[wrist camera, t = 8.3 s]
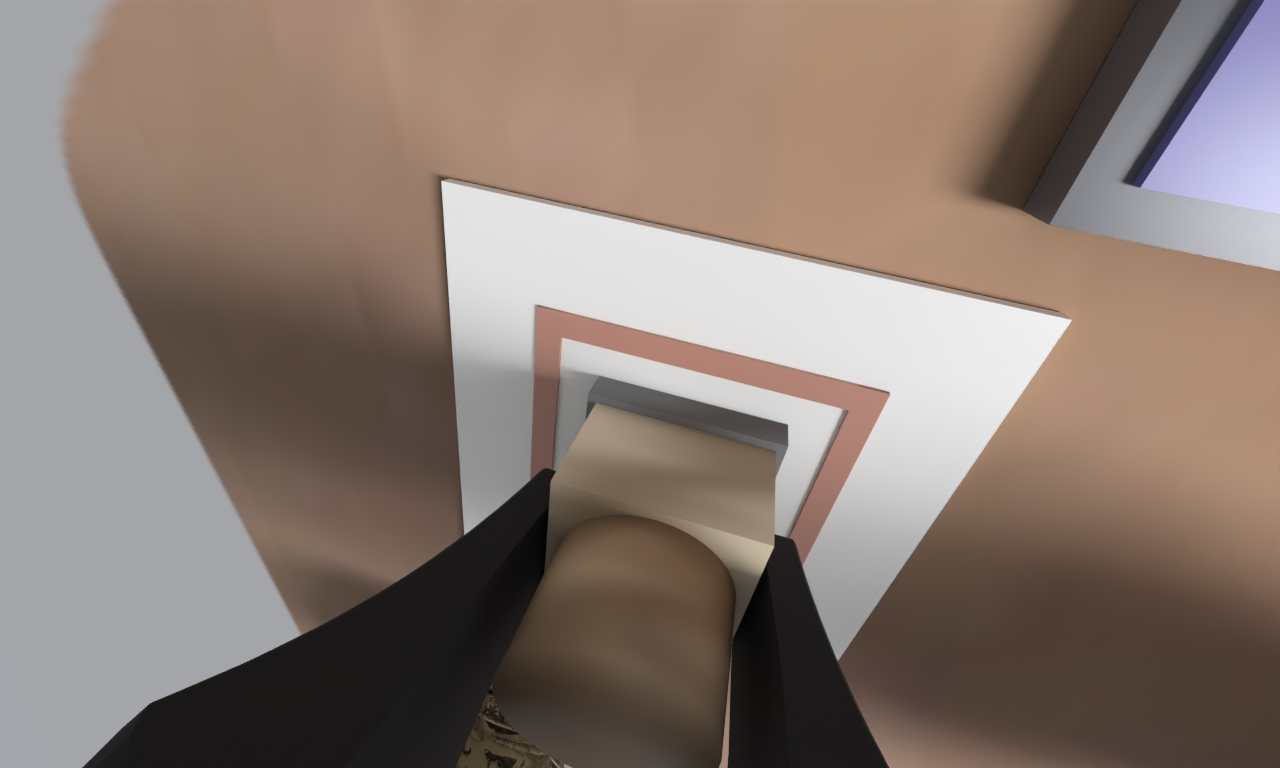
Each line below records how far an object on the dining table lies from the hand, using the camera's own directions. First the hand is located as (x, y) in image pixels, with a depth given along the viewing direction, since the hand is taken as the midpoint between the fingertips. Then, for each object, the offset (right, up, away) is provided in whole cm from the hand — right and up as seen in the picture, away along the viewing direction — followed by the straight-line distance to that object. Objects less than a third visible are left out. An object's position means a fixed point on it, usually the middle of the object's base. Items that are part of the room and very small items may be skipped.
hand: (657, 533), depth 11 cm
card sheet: (+1, +1, +2) cm, 2 cm away
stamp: (0, +1, +1) cm, 2 cm away
